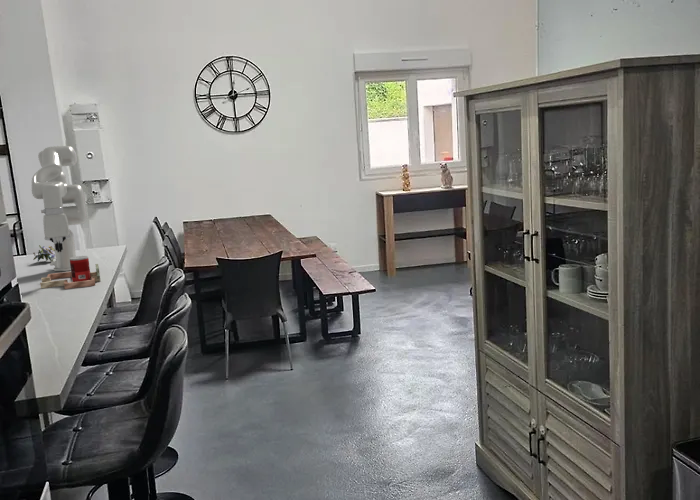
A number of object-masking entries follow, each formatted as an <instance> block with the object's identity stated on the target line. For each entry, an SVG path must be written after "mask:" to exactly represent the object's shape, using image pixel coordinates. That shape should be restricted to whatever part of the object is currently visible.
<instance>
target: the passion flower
mask: <svg viewBox="0 0 700 500" xmlns="http://www.w3.org/2000/svg"><path fill="white" fill-rule="evenodd" d="M38 247H39V249H38V251H37V255H36V253H35V252H32V253H33V255H34V257H33V261H35V260H36V259H37V262H39V261H40V260H44V259H45V261H50V262H51V261H55V260H56V257H55V249H54V248H53V247H54V246H50V245H49V246H48V247H47V246H41V245H38Z"/></svg>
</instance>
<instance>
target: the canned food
mask: <svg viewBox="0 0 700 500" xmlns="http://www.w3.org/2000/svg"><path fill="white" fill-rule="evenodd" d="M70 266H71V270H70V272H71V274H72V277H71V280H72V282H79V281H87V280H92V278H91V276H90V272H91V270H90V269H91V267H90V261H89V256H88V255H76V257H72V258H70Z"/></svg>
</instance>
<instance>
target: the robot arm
mask: <svg viewBox="0 0 700 500" xmlns="http://www.w3.org/2000/svg"><path fill="white" fill-rule="evenodd" d="M38 162H39V163H40V166H41V167H40V168H39V169H38V170H37V171H36V172H35V173H34V174H33V176H32V178H31V195H32V197H34V198H35V199H36V200H43V209H41V210H40V211H41V214H44V215H43V219H42V221H43V223H42V224H43V233H44V240H45V241H50V242H52V243H53V247H54V248H53V249H55V251H54V254H55V257H54V258H55V260H54V261H50V263H49V265H50V266H52V267H53V266H54V267H53V271H54V272H70V271H71V266H70V258H72V257H77V253H76V245H75V236H74V233H73V231H72V230H71V229H70V226H75V225H83V224H85V223H86V222H87V219H88V218H87V216H88V215H87V209H86V201H85V200H86V199H85V193H84V190H83V187H82V186H81V185H80V184H77V183H75V184H67V176H66V174H65V172H63V167H71V166H73V167H74V166H75V165H76V164H77V163H78V155H77V152H76V150H75V149H74V147H73V146H71V145H70V146H69V145H57V146H54V145H53V146H47V147H45V148H43V150H41V151H40V152H38ZM67 204H68V205H69V206H68V205H67ZM71 204H74V205H71ZM63 205H65V206H63ZM66 205H67V206H66Z"/></svg>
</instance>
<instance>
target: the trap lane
mask: <svg viewBox="0 0 700 500" xmlns="http://www.w3.org/2000/svg"><path fill="white" fill-rule="evenodd" d="M100 273H101V272H100V267H99V263H95V271H90V276H91V279H90V280H87V281H79V282H73V281H72V282H70V281H68V279H67V278H72V274H71V271H62V272H55V273H48V274H47V276H46V277H41V282H39V283H40V289H48V288H55V287H63V286H64V290H68V289H69V290H70V289H76V288H85V287H86V288H87V287H93V286H94V287H95V286H96V282H101V274H100ZM57 279H60V280H57Z"/></svg>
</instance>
